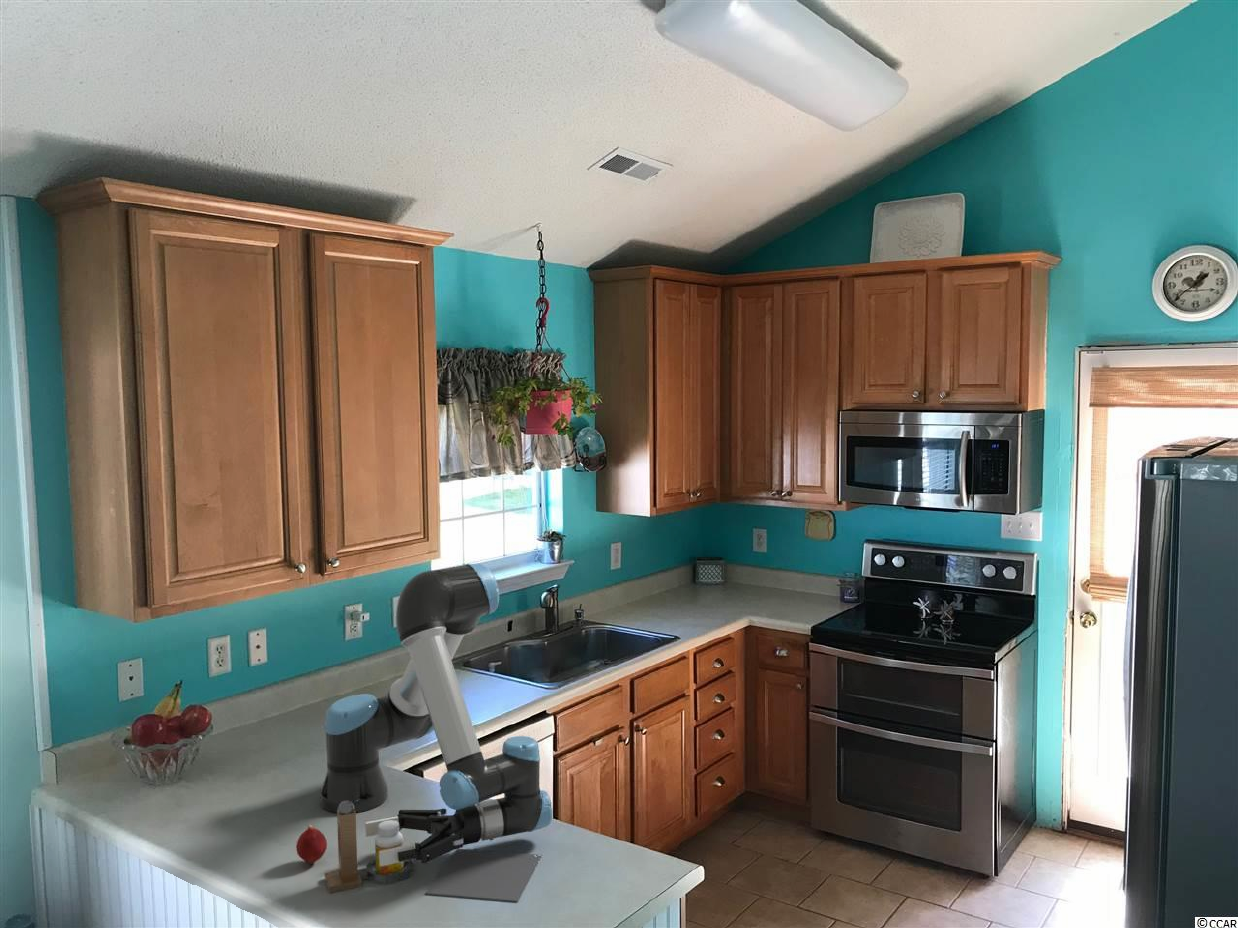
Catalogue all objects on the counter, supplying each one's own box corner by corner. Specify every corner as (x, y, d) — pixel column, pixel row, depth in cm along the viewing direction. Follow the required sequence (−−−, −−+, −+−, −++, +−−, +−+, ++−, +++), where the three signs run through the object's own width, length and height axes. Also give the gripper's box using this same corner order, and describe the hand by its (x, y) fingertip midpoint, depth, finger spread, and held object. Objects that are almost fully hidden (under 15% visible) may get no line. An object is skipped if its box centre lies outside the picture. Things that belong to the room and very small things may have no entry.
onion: (330, 856, 199) (329, 818, 198) (322, 869, 193) (321, 830, 192) (301, 856, 198) (300, 818, 198) (293, 870, 193) (291, 831, 192)
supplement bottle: (370, 873, 191) (368, 825, 191) (392, 862, 196) (391, 815, 195) (387, 881, 188) (385, 833, 187) (409, 871, 192) (408, 823, 191)
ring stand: (345, 857, 198) (342, 780, 197) (419, 863, 195) (417, 785, 194) (312, 891, 185) (309, 809, 183) (392, 898, 182) (389, 815, 181)
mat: (457, 849, 201) (457, 848, 201) (541, 856, 198) (541, 854, 198) (425, 894, 183) (425, 892, 183) (517, 902, 180) (517, 900, 180)
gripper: (496, 866, 188) (386, 891, 179) (461, 816, 210) (361, 835, 201) (496, 829, 187) (385, 852, 178) (460, 782, 210) (360, 800, 201)
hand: (372, 843), depth 190 cm, fingers open, 13 cm apart
